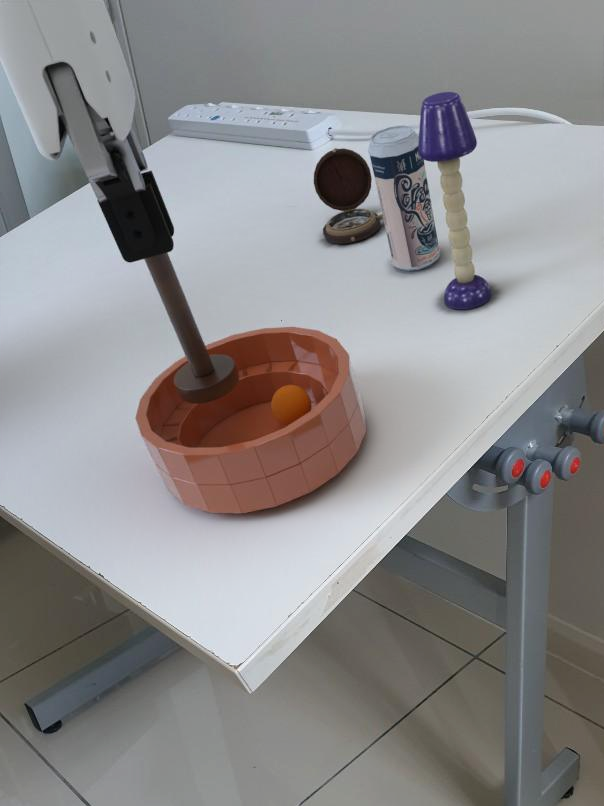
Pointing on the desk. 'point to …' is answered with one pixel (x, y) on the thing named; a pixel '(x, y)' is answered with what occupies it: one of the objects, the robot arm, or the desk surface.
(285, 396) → the ball
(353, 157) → the compass
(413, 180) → the beer can
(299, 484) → the bowl
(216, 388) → the stick
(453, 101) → the toy lamp
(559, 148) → the desk surface
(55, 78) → the robot arm
